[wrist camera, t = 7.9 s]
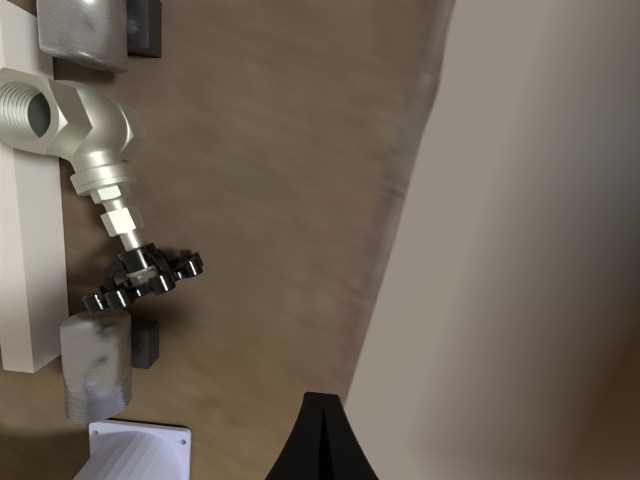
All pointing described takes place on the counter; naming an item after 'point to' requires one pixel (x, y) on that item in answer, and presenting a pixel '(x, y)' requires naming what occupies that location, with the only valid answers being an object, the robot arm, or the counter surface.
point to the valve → (92, 172)
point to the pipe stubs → (107, 326)
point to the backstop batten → (29, 222)
